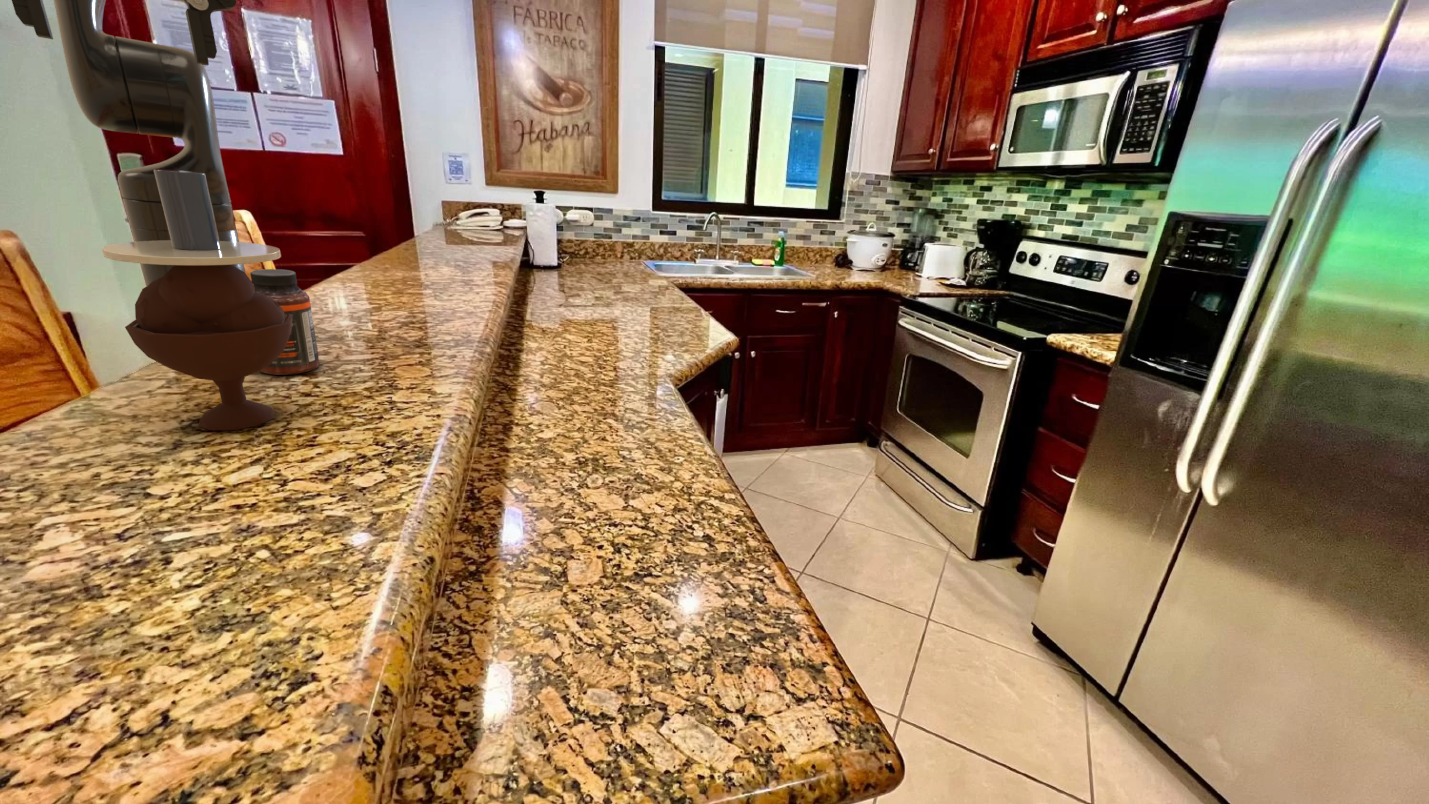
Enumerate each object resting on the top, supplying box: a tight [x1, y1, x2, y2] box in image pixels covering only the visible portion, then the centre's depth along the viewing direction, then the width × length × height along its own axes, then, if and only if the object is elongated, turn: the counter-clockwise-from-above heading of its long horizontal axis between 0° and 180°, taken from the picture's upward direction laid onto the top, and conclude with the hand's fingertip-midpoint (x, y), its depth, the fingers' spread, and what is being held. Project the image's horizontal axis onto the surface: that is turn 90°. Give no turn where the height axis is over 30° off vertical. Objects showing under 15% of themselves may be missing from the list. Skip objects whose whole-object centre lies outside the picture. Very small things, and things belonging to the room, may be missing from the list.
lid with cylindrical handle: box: [101, 169, 282, 265], centre depth 45 cm, size 11×11×7 cm
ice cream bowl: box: [124, 265, 293, 431], centre depth 49 cm, size 11×11×15 cm
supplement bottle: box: [250, 268, 320, 376], centre depth 63 cm, size 6×6×11 cm
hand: (128, 51), depth 43 cm, fingers open, 8 cm apart
